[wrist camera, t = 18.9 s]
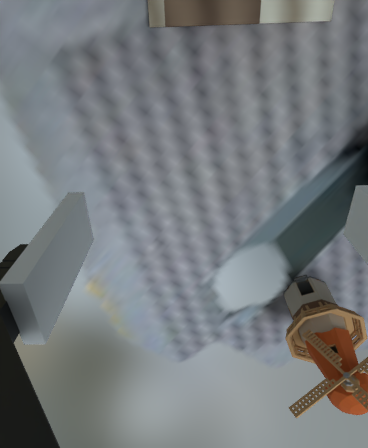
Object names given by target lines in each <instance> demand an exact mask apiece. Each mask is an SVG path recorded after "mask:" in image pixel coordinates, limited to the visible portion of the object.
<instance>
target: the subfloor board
mask: <svg viewBox="0 0 368 448" xmlns="http://www.w3.org/2000/svg"><path fill="white" fill-rule="evenodd" d="M333 6H334V0H148V11H149V25H150V27H179V26H208V25H238V24H267V23H296V22H325V21H331V17H332V12H333Z"/></svg>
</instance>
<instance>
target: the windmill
mask: <svg viewBox="0 0 368 448" xmlns="http://www.w3.org/2000/svg"><path fill="white" fill-rule="evenodd" d="M294 280H295V281H293V282H292V283H291V284H290V286H289V287H288V288H287V290H286V291H285V292H284V297H285V300H286V303H287V306H288V308H289V311H290V313H291V316H292V318H293V320H294V321H293V323H292V324H291V325H290V326H289V327H288V329H287V333H286V341H287V343H288V346H289V349H290V352H291V354H292V357H294V358H298V359H301V360H304V361H308V362H311V363H315V364H316V365H317V366H318V368H319V369H320V370H321V372H322V374H323V375H324V377H325V378H326V379H325V380H323V381H322V382H321V383H320V384H318V385H317V386H316V387H315V388H313V389H312V390H311V391H309V392H308V393H307V394H306V395H304V396H303V397H302V398H300V399H299V400H298V401H297V402H295V403H294V404H293V405H292V406H290V407H289V409H290V410H291V412H292V413H293V414H294V416H295V417H296V418H298V417H299V416H300V415H302V414H303V413H304V412H305V411H307V410H308V409H309V408H311V407H312V406H313V405H314V404H316V403H317V402H318V401H319V400H320V399H322V398H323V397H324V396H326V395H327V396H328V398H329V399H330V401H331V403H332V404H333V405H334V406H335V407H337V408H338V409H340V410H341V411H342V412H345V413H348V414H353V415H362V414H365V413H367V412H368V370H366V369H367V368H368V365H367V364H366V363H368V357H367V358H366V359H365V360H363V361H362V362H361V363H360V364H358V361H357V358H356V354H355V350H356V349H357V348H358V347H359V346H360V345H361V344H362V343H363V342H364V341H365V340H366V339H367V334H366V328H365V323H364V318H363V317H361V316H360V315H358V314H356V313H355V312H354V311H351V310H348V309H345V308H342V307H339V306H338V305H337V304H336V302H335V301H334V299H333V297H332V295H331V293H330V291H329V289H328V287H327V285H326V284H325V282H323V281H321V280H318V279H315V278H312V277H307V275H304V276H301V277H297V278H294ZM356 335H357V336H356ZM355 336H356V337H355ZM353 337H355V338H354V339H353V340H351V339H352V338H353ZM359 339H360V340H359ZM358 340H359V341H358ZM357 341H358V342H357ZM356 342H357V343H356ZM355 343H356V344H355ZM298 350H300V351H298ZM301 351H303V352H301ZM307 353H309V354H307ZM363 366H365V368H364V367H363ZM360 368H361V369H362V370H360ZM364 371H365V372H366V373H367V374H366V373H362V372H364ZM326 381H327V382H328V383H327V384H326V383H325V382H326ZM322 384H324V386H323V385H322ZM319 386H320V387H321V388H319ZM316 389H317V390H318V391H316ZM322 390H324V392H322ZM312 392H314V394H313V393H312ZM319 392H320V393H321V394H320V395H319V394H318V393H319ZM309 394H310V395H311V396H309ZM315 395H317V396H318V397H317V398H316V397H315ZM305 397H308V399H306V398H305ZM312 398H314V400H312ZM303 399H304V402H303V401H302V400H303ZM309 400H310V401H311V402H310V403H309V402H308V401H309ZM299 402H301V404H299ZM305 403H307V404H308V405H305ZM295 405H298V407H296V406H295ZM301 406H304V408H302V407H301ZM293 407H294V410H293V409H292V408H293ZM299 408H300V409H301V410H300V411H299V410H298V409H299ZM295 411H297V412H298V413H295Z"/></svg>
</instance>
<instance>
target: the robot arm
mask: <svg viewBox="0 0 368 448" xmlns="http://www.w3.org/2000/svg"><path fill="white" fill-rule="evenodd" d="M343 235H344V236H345V237H346V238H347V240H348V241H349V242H350V243H351V245H352V246H353V247H354V248H355V250H356V251H357V252H358V253H359V255H360V256H361V257H362V258H363V259H364V261H365V262H366V263H367V264H368V185H362V186H356V188H355V192H354V196H353V200H352V203H351V207H350V211H349V214H348V218H347V222H346V226H345V229H344V233H343ZM93 240H94V238H93V233H92V229H91V224H90V219H89V214H88V209H87V204H86V200H85V195H84V192H76V193H68V194H67V195H66V196H65V198H64V199H63V200H62V202H61V203H60V204H59V206H58V207H57V208H56V209H55V211H54V212H53V213H52V215H51V216H50V217H49V219H48V220H47V221H46V222H45V224H44V225H43V226H42V228H41V229H40V230H39V232H38V233H37V234H36V235H35V237H34V238H33V240H32V241H31V242H30V243H29V244H20V245H19V246H18V247H16V248H15V249H13V250H12V251H10V252H9V253H8V254H7V255H6V257H5V258H4V259H3V261H2V262H1V263H0V448H60V446H59V444H58V442H57V440H56V438H55V435H54V433H53V431H52V429H51V426H50V424H49V422H48V419H47V417H46V415H45V413H44V410H43V408H42V406H41V404H40V401H39V400H38V397H37V395H36V393H35V390H34V388H33V386H32V384H31V381H30V379H29V377H28V375H27V372H26V370H25V368H24V366H23V363H22V361H21V359H20V357H19V355H18V352H17V350H16V348H15V345H14V341H15V339H16V338H17V336H18V334H20V336H21V338H22V341H23V343H24V344H46V342H47V340H48V338H49V336H50V334H51V331H52V329H53V327H54V325H55V323H56V321H57V318H58V316H59V314H60V312H61V310H62V308H63V305H64V303H65V301H66V299H67V297H68V295H69V292H70V290H71V288H72V286H73V284H74V281H75V280H76V277H77V275H78V273H79V271H80V269H81V266H82V264H83V262H84V260H85V258H86V256H87V253H88V251H89V249H90V247H91V245H92V243H93Z"/></svg>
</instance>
